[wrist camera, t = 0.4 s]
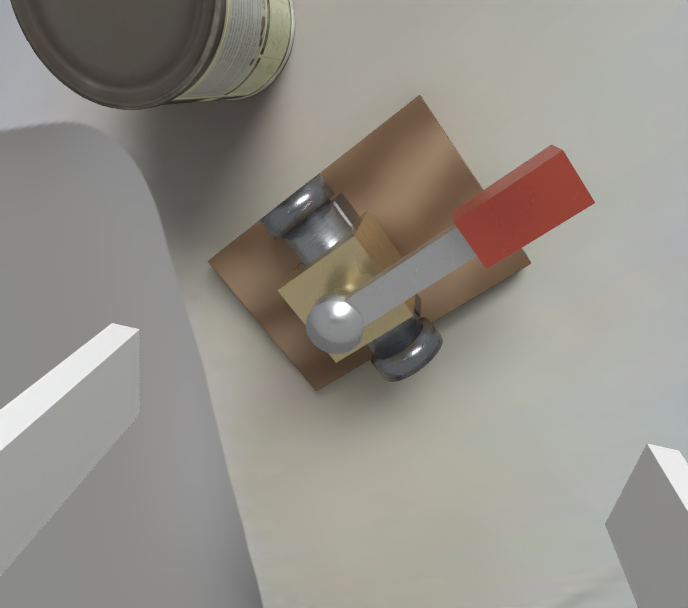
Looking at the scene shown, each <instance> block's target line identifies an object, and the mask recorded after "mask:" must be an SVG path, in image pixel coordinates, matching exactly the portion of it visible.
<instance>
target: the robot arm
mask: <svg viewBox="0 0 688 608" xmlns="http://www.w3.org/2000/svg"><path fill="white" fill-rule="evenodd" d="M139 402H140V330H139V329H136V328H131V327H126V326H122V325H117V324H113V323H112V324H110V325H109V326H108V327H107V328H105V329H104V330H103V331H102V332H100V333H99V334H98V335H96V336H95V337H94V338H92V339H91V340H90V341H89V342H87V343H86V344H85V345H83V346H82V347H81V348H80V349H78V350H77V351H76V352H74V353H73V354H72V355H70V356H69V357H68V358H67V359H65V360H64V361H63V362H61V363H60V364H59V365H58V366H56V367H55V368H54V369H53V370H51V371H50V372H49V373H48V374H46V375H45V376H44V377H42V378H41V379H40V380H38V381H37V382H36V383H34V384H33V385H32V386H31V387H29V388H28V389H27V390H25V391H24V392H23V393H22V394H20V395H19V396H18V397H16V398H15V399H14V400H13V401H12V402H10V403H9V404H7V405H6V406H5V407H3V408H2V409H1V410H0V576H1V575H2V574H3V573H4V572H5V571H6V569H7V568H8V567H9V566H10V564H12V562H13V561H14V560H15V558H17V557H18V555H19V554H20V553H21V552H22V551H23V549H24V548H25V547H26V546H27V545H28V544H29V543H30V541H31V540H32V539H33V538H34V537H35V535H36V534H37V533H38V532H39V531H40V530H41V528H42V527H43V526H44V525H45V524H46V523H47V521H48V520H49V519H50V518H51V517H52V516H53V515H54V513H55V512H56V511H57V510H58V509H59V508H60V506H61V505H62V504H63V503H64V502H65V500H66V499H67V498H68V497H69V496H70V495H71V493H72V492H73V491H74V490H75V489H76V488H77V487H78V485H79V484H80V483H81V482H82V481H83V480H84V478H85V477H86V476H87V475H88V474H89V473H90V471H91V470H92V469H93V468H94V467H95V465H96V464H97V463H98V462H99V461H100V460H101V458H102V457H103V456H104V455H105V454H106V453H107V451H108V450H109V449H110V448H111V447H112V446H113V445H114V443H115V442H116V441H117V440H118V439H119V437H120V436H121V435H122V434H123V433H124V432H125V431H126V429H127V428H128V427H129V426H130V425H131V424H132V422H133V421H134V420H135V419H136V418H137V417H138V415H139V414H140V405H139V404H140V403H139ZM605 525H606V528H607V530H608V533H609V535H610V538H611V540H612V543H613V545H614V548H615V550H616V553H617V555H618V558H619V560H620V563H621V565H622V568H623V570H624V573H625V575H626V578H627V580H628V583H629V586H630V588H631V591H632V593H633V596H634V598H635V601H636V603H637V606H638V608H688V464H687V462H686V461H685V459H684V458H683V456H682V455H681V453H680V452H679V451H678V450H673V449H669V448H664V447H660V446H656V445H651V444H647V445H646V447H645V449H644V450H643V452H642V454H641V456H640V458H639V460H638V462H637V464H636V466H635V468H634V470H633V472H632V474H631V475H630V477H629V479H628V481H627V483H626V485H625V487H624V489H623V491H622V493H621V495H620V497H619V498H618V500H617V502H616V504H615V506H614V508H613V510H612V512H611V514H610V516H609V518H608V520H607V522H606V523H605Z"/></svg>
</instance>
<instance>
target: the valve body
mask: <svg viewBox="0 0 688 608" xmlns="http://www.w3.org/2000/svg"><path fill="white" fill-rule="evenodd" d="M334 194H335V193H334V191H333V190H332V189H331V187H330V186H329V185H328V183H327V182H326V181H325V179H324V178H323V176H322V175H321V174H320V173H319V174H318V175H317V176H315V177H314V178H313V179H312V180H310V181H309V182H308V183H306V184H305V185H304V186H303V187H301V188H300V189H299V190H297V191H296V192H295V193H294V194H292V195H291V196H290V197H289V198H287V199H286V200H285V201H283V202H282V203H281V204H280V205H278V206H277V207H276V208H275V209H273V210H272V211H271V212H269V213H268V214H267V215H266V216H264V217H263V218H262V219H261V220H259V221H260V222H261V223H262V225H263V226H264V227H265V228H266V230H267V231H268V232H269V234H270V235H271V236H272V237H273V239H274V240H276V239H278V238H280V237H281V236H282V238H283V239H284V240H285V241H286V243H287V244H288V245H289V247H290V248H291V249H292V250H293V252H294V253H295V254H296V255H297V257H298V258H299V259H300V262H299V263H298V264H297V266H296V267H295V268H294V269H293V271H292V272H291V273H290V275H289V276H288V277H287V279H286V280H285V281H284V283H283V284H282V285H281V286H280V288H279V289H278V290H277V291H278V292H279V293H280V294H281V296H282V297H283V298H284V299H285V301H286V302H287V303H288V304H289V306H290V307H291V308H292V309H293V310H294V312H295V313H296V314H297V315H298V317H299V318H300V319H301V320H302V322H303V323H304V324H305V325H306V319H307V316H308V314H309V312H310V311H311V309H312V307H313V305H314V303H315V302H316V301H317V299H318V298H320V297H321V296H322V295H324V294H326V293H329V292H344V293H347V294H349V293H350V292H352V291H353V290H355V289H356V288H358V287H359V286H361V285H362V284H364V283H365V282H367V281H368V280H370V279H371V278H373V277H374V276H376V275H377V274H379V273H380V272H382V271H383V270H385V269H386V268H388V267H389V266H391V265H392V264H394V263H395V262H397V261H398V260H400V259H401V258H403V257H402V256H401V254H400V253H399V252H398V250H397V249H396V247H395V246H394V245H393V243H392V242H391V241H390V239H389V238H388V237H387V235H386V234H385V232H384V231H383V230H382V228H381V227H380V226H379V224H378V223H377V221H376V220H375V219H374V217H373V216H372V215H371V213H370V212H369V211H368V210H367V211H366V212H364V213H363V214H362V215H360V216H359V217H358V213H357V212H356V211H355V209H354V208H353V207H352V205H351V204H350V203H349V201H348V200H347V199H346V197H345V196H344V194H343V193H340V194H339V195H338V196H336V197H335V198H334V199H332V200H330V198H331V197H332V196H333V195H334ZM357 217H358V218H357ZM420 316H421V299H420V297H419V296H418V295H417V294H416V295H414V296H412V297H411V298H409V299H408V300H406V301H404V302H403V303H401V304H400V305H398V306H396V307H395V308H393V309H392V310H390V311H388V312H387V313H385V314H384V315H382V316H380V317H379V318H377V319H376V320H374V321H372V322H371V323H369V324H368V325H366V326H365V329H364V332H363V336H362V339H361V341H360V343H359V344H358V345H357V346H356V347H355V348H354V349H352V350H351V351H349V352H346V353H342V354H331V353H329V355H330V356H331V357H332V358H333V360H334V361H335V362H336V363H337V362H338V361H340V360H342V359H343V358H345V357H346V356H348V355H350V354H351V353H353V352H355V351H356V350H358V349H360V348H361V347H363V346H365V345H366V344H367V345H368V347H369V348H370V349H371V351H372V352H373V354H372V356H371V362H372V363H373V365H374V366H375V367H376V368H377V370H378V371H379V372H380V373H381V375H382V376H383V377H384V378H385V380H386V381H389V382H395V381H399V380H402V379H405V378H407V377H409V376H411V375H412V374H414V373H416V372H417V371H419V370H420V369H421V368H423V367H424V366H425V365H426V364H428V363H429V362H430V361H431V360H432V359H433V358H434V356H435V355H436V354H437V353H438V351H439V349H440V348H441V345H442V342H443V339H442V337H441V335H440V334H439V333H438V331H437V330H436V329H435V327H434V326H433V325H432V323H431V322H430V320H429V319H428V318H425V317H421V318H418V317H420Z"/></svg>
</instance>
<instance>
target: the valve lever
mask: <svg viewBox="0 0 688 608" xmlns="http://www.w3.org/2000/svg"><path fill="white" fill-rule="evenodd" d="M594 203H595V202H594V200H593V199H592V197H591V195H590V194H589V192H588V190H587V189H586V187H585V186H584V184H583V182H582V181H581V179H580V177H579V176H578V174H577V172H576V171H575V169H574V168H573V166H572V164H571V163H570V161H569V159H568V158H567V156H566V154H565V153H564V151H563V150H561V149H559V148H557V147H555V146H553V145H550V146H549V147H547V148H546V149H544V150H543V151H541V152H540V153H538V154H537V155H535V156H534V157H532V158H531V159H529V160H528V161H526V162H525V163H523V164H522V165H520V166H519V167H517V168H516V169H514V170H513V171H512V172H510V173H509V174H507V175H506V176H504V177H503V178H501V179H500V180H498V181H497V182H495V183H494V184H492V185H491V186H489V187H488V188H486V189H485V190H483V191H482V192H480V193H479V194H477V195H476V196H474V197H473V198H471V199H470V200H468V201H467V202H465V203H464V204H462V205H461V206H459V207H458V208H457V209H455V210H454V211H452V213H453V220H454V224H453V225H451V226H450V227H448V228H447V229H445V230H444V231H442V232H441V233H439V234H438V235H436V236H435V237H433V238H432V239H430V240H429V241H427V242H426V243H424V244H423V245H421V246H420V247H418V248H417V249H415V250H414V251H412V252H411V253H409V254H408V255H406V256H404V257H403V258H401V259H400V260H398V261H397V262H395V263H394V264H392V265H391V266H389V267H388V268H386V269H385V270H383V271H382V272H380V273H379V274H377V275H376V276H374V277H373V278H371V279H370V280H368V281H367V282H365V283H364V284H362V285H361V286H359V287H358V288H356V289H355V290H353V291H352V292H350V293H349V294H347V293H344V292H329V293H326V294H324V295H322V296H321V297H320V298H318V299H317V301H316V302H315V303H314V305H313V307H312V309H311V311H310V312H309V314H308V316H307V319H306V331H307V334H308V337H309V339H310V340H311V342H312V343H313V344H314V345H315V346H316V347H318V348H319V349H321V350H322V351H325V352H327V353H331V354H342V353H346V352H349V351H351V350H352V349H354V348H355V347H356V346H357V345H358V344H359V343H360V341H361V339H362V336H363V332H364V329H365V326H366V325H368V324H369V323H371V322H372V321H374V320H376V319H377V318H379V317H380V316H382V315H384V314H385V313H387V312H388V311H390V310H392V309H393V308H395V307H396V306H398V305H400V304H401V303H403V302H404V301H406V300H408V299H409V298H411V297H412V296H414V295H416V294H417V293H419V292H420V291H422V290H424V289H425V288H427V287H428V286H430V285H432V284H433V283H435V282H436V281H438V280H440V279H441V278H443V277H444V276H446V275H448V274H449V273H451V272H452V271H454V270H456V269H457V268H459V267H460V266H462V265H464V264H465V263H467V262H468V261H470V260H472V259H473V258H475V257H476V256H477V257H478V258H479V260H480V261H481V263H482V264H483V265H484V267H485V268H486V269H488V268H489V267H491V266H492V265H494V264H496V263H497V262H499V261H501V260H502V259H504V258H506V257H507V256H509V255H510V254H512V253H514V252H515V251H517V250H519V249H520V248H522V247H524V246H525V245H527V244H529V243H530V242H532V241H533V240H535V239H537V238H538V237H540V236H542V235H543V234H545V233H547V232H548V231H550V230H551V229H553V228H555V227H556V226H558V225H560V224H561V223H563V222H565V221H566V220H568V219H569V218H571V217H573V216H574V215H576V214H578V213H579V212H581V211H583V210H584V209H586V208H587V207H589V206H591V205H592V204H594Z"/></svg>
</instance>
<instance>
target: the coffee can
mask: <svg viewBox="0 0 688 608" xmlns="http://www.w3.org/2000/svg"><path fill="white" fill-rule="evenodd" d="M10 1H11V4H12V8H13V10H14V13H15V16H16V18H17V21H18V23H19V25H20V27H21V29H22V31H23V33H24V35H25V37H26V39H27V41H28V42H29V44H30V45H31V47H32V49H33V51H34V52H35V54H36V55H37V56H38V58H39V59H40V60H41V61H42V63H43V64H44V65H45V66H46V67H47V68H48V70H49V71H50V72H51V73H52V74H53V75H54V76H55V77H56V78H57V79H58V80H59V81H61V82H62V83H63V84H64V85H66V86H67V87H68V88H70V89H71V90H73V91H74V92H75V93H77V94H79V95H80V96H82V97H83V98H86V99H88V100H90V101H92V102H95V103H97V104H100V105H103V106H107V107H110V108H116V109H123V110H140V109H146V108H152V107H156V106H160V105H165V104H179V103H189V102H201V101H216V100H239V99H244V98H247V97H251V96H253V95H255V94H257V93H259V92H260V91H262V90H263V89H265V88H266V87H268V86H269V85H270V84H271V83H272V82H273V81H274V80H275V79H276V77H277V76H278V75H279V73H280V72H281V70H282V69H283V67H284V65H285V63H286V61H287V59H288V57H289V55H290V52H291V48H292V43H293V39H294V30H295V17H294V8H293V2H292V0H10Z"/></svg>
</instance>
